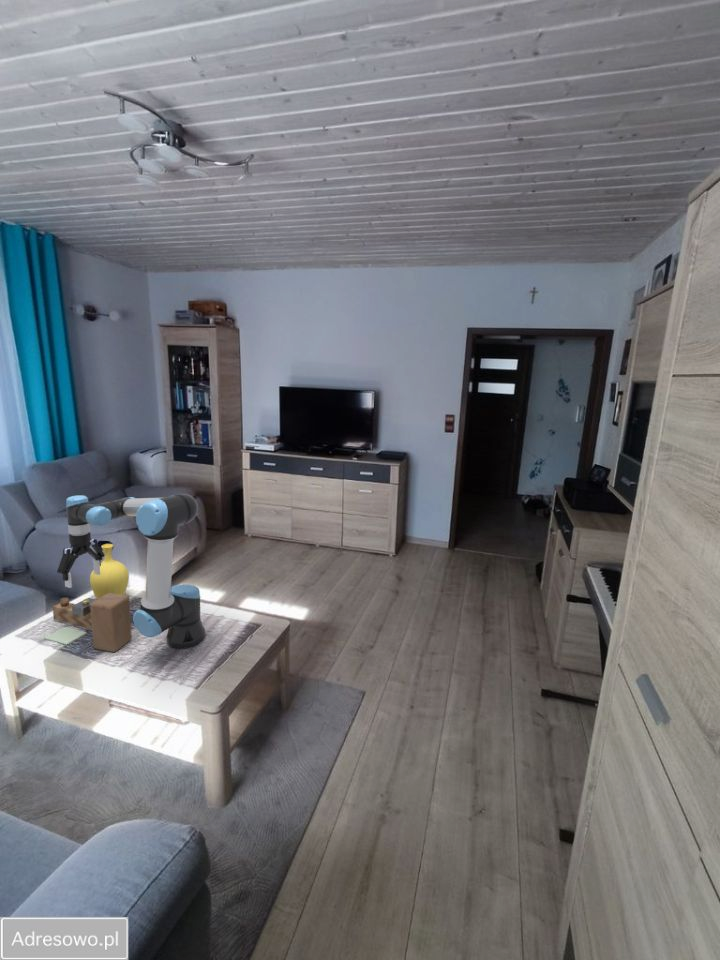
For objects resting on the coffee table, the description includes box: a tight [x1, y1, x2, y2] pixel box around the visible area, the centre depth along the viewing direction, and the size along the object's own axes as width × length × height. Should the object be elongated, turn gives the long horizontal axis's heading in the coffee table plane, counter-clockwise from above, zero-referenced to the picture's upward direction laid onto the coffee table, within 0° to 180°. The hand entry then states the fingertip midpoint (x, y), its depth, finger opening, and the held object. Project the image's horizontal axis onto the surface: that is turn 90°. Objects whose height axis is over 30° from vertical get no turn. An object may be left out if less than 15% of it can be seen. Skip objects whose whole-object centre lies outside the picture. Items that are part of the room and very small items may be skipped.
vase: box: [89, 543, 130, 600], centre depth 205 cm, size 16×16×28 cm
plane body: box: [52, 597, 97, 632], centre depth 186 cm, size 26×5×13 cm, turn 73°
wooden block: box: [90, 593, 132, 653], centre depth 172 cm, size 10×10×20 cm
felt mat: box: [43, 626, 88, 646], centre depth 177 cm, size 12×9×1 cm
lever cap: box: [72, 597, 97, 616], centre depth 184 cm, size 6×8×5 cm
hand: (83, 580), depth 182 cm, fingers open, 13 cm apart
